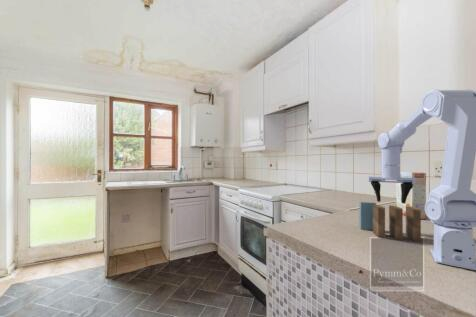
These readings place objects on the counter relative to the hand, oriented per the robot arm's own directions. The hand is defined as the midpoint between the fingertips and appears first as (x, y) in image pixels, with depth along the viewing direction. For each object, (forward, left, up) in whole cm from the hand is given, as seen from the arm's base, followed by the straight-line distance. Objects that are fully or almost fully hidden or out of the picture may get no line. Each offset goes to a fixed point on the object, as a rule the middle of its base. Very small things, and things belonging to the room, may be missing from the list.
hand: (390, 202), depth 81 cm
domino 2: (-10, +3, -10) cm, 15 cm away
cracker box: (+34, -8, -10) cm, 36 cm away
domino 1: (-4, +7, -10) cm, 13 cm away
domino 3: (-8, -1, -10) cm, 13 cm away
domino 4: (-6, -6, -10) cm, 14 cm away
